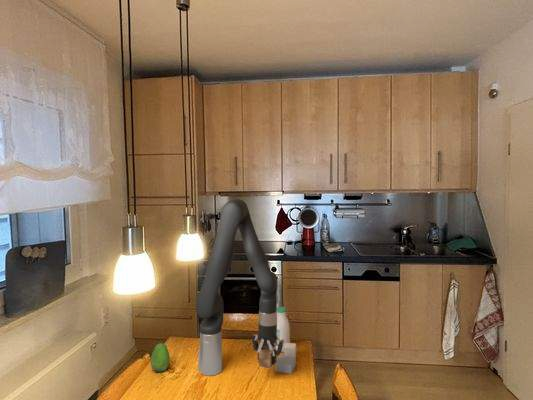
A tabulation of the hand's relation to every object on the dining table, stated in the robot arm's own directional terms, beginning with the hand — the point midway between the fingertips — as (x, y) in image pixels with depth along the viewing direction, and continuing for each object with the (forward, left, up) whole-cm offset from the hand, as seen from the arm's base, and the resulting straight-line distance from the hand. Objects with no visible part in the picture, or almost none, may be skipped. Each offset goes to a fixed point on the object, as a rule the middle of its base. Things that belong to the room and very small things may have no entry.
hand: (267, 362), depth 143 cm
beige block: (+3, +18, -7) cm, 20 cm away
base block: (+4, +10, -7) cm, 13 cm away
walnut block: (0, 0, -1) cm, 1 cm away
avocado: (-44, -14, -7) cm, 47 cm away
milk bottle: (-4, +25, -7) cm, 27 cm away
